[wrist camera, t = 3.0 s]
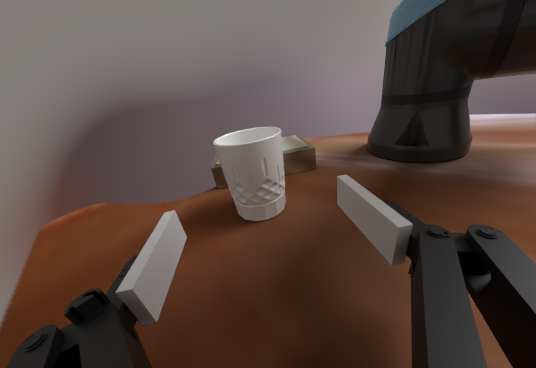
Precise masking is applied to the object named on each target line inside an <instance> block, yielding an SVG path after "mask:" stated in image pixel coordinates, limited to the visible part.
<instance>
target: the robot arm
mask: <svg viewBox="0 0 536 368" xmlns="http://www.w3.org/2000/svg"><path fill="white" fill-rule="evenodd" d="M385 46H386V58H385V69H384V80H383V90H382V101H381V108H380V111H379V113H378V116H377V118H376V120H375V123H374V125H373V128H372V130H371V133H370V134H369V136H368V143H367V150H368V151H369V152H370V153H372V154H374V155H376V156H379V157H382V158H386V159H391V160H397V161H406V162H437V161H446V160H452V159H456V158H459V157H462V156H464V155H466V154H467V153H468V151H469V148H470V145H471V142H472V134H471V132H470V119H469V110H468V98H469V94H470V91H471V87H472V84H473V81H474V80H479V79H487V78H496V77H505V76H515V75H524V74H534V73H536V0H403V1H402V2H401V3H400V4H399V5H398V6H397V7H396V9H395V10H394V12H393V13H392V16H391V19H390V25H389V31H388V38H387V41H386V44H385ZM337 205H338V206H339V207H340V208H341V209H342V210H343V212H344V213H345V214H346V215H347V216H348V217H349V218H350V219H351V221H352V222H353V223H354V224H355V225H356V226H357V227H358V228H359V230H360V231H361V232H362V233H363V234H364V235H365V236H366V237H367V239H368V240H369V241H370V242H371V243H372V244H373V245H374V246H375V248H376V249H377V250H378V251H379V252H380V253H381V254H382V255H383V257H384V258H385V259H386V260H387V261H388V262H389V263H390V264H391V266H393V265H397V264H401V263H404V262H405V258H406V255H407V256H408V257H409V258H410V259H411V260H412V261H411V265H410V269H409V273H408V274H411V323H412V368H487V366H486V362H485V358H484V355H483V351H482V347H481V343H480V339H479V335H478V331H477V328H476V324H475V320H474V316H473V312H472V308H471V304H470V301H469V297H468V293H467V291H468V292H469V294H470V296H471V297H472V299H473V301H474V303H475V304H476V306H477V308H478V309H479V311H480V313H481V314H482V316H483V318H484V319H485V321H486V323H487V325H488V326H489V328H490V330H491V331H492V333H493V335H494V336H495V338H496V340H497V342H498V343H499V345H500V347H501V348H502V350H503V352H504V353H505V355H506V357H507V358H508V360H509V362H510V364H511V365H512V367H513V368H536V264H535V263H534V262H533V261H532V260H531V259H530V258H529V257H528V256H527V255H526V254H525V253H524V252H523V251H522V250H521V249H520V248H519V247H517V246H516V245H515V244H514V243H513V242H512V241H511V240H510V239H509V238H508V237H507V236H506V235H505V234H504V233H502V232H501V231H499V230H497V229H494V228H492V227H489V226H484V225H472V226H469V227H468V229H467V232H466V233H450V232H449V231H448V230H446V229H444V228H442V227H439V226H435V225H425V224H424V223H423V222H421V221H420V220H418V219H417V218H415V217H414V216H413V215H411V214H410V213H408V212H406V211H405V210H404V209H403V208H401V207H400V206H398V205H397V204H395V203H394V202H391V201H388V200H382V201H381V200H380V199H379V198H377V197H376V196H375V195H373V194H372V193H371V192H369V191H368V190H367V189H365V188H364V187H363V186H361V185H360V184H359V183H357V182H356V181H355V180H353V179H352V178H351V177H349V176H348V175H347V174H345V175H341V176H337ZM186 239H187V236H186V234H185V232H184V230H183V227H182V225H181V223H180V221H179V219H178V216H177V214H176V212H175V210H174V211H169V212H165V213H164V214H163V216H162V218H161V219H160V221H159V223H158V224H157V226H156V227H155V229H154V231H153V232H152V234H151V236H150V237H149V239H148V240H147V242H146V244H145V245H144V247H143V249H142V250H141V252H140V253H139V255H135V256H133V257H132V258H131V259H130V260H129V261H128V262H127V263H126V265H125V266H124V268H123V269H122V272H120V274H119V275H118V278H116V280H115V281H114V283H113V284H112V286H111V287H110V289H109V290H108V292H107V294H106V295H105V294H104V293H103V292H102V291H101V290H100V289H92V290H89V291H87V292H85V293H83V294H82V295H80V296H79V297H77V298H76V299H75V300H74V301H73V302H72V303H71V304H70V305H69V306H68V308H67V309H66V311H65V316H66V317H67V318H68V319H69V320H70V321H72V322H73V324H71V325H68V326H66V327H64V328H62V329H58V328H57V327H56V326H55V325H48V326H46V327H43V328H41V329H39V330H38V331H36V332H35V333H33V334H32V335H30V336H29V337H28V338H27V339H26V340H24V342H23V343H22V344H21V345H20V346H19V347H18V348H17V350H16V351H15V353H14V354H13V356H12V358H11V361H10V363H9V365H8V367H7V368H152V367H151V365H150V362H149V360H148V358H147V355H146V353H145V350H144V348H143V346H142V343H141V341H140V339H139V336H138V334H137V332H136V330H135V329H134V328H133V327H134V325H135V323H136V321H137V320H138V321H139V323H140V324H141V325H142V326H144V325H148V324H152V323H156V322H157V321H158V318H159V315H160V312H161V310H162V307H163V304H164V301H165V298H166V295H167V293H168V290H169V287H170V284H171V281H172V279H173V276H174V273H175V270H176V267H177V264H178V262H179V259H180V256H181V253H182V250H183V247H184V245H185V242H186Z"/></svg>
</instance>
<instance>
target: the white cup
mask: <svg viewBox="0 0 536 368" xmlns="http://www.w3.org/2000/svg"><path fill="white" fill-rule="evenodd" d="M213 144H214V147H215V150H216V153H217V156H218V159H219V162H220V165H221V168H222V171H223V174H224V177H225V180H226V182H227V185H228V188H229V190H230V193H231V196H232V197H233V199H234V202H235V205H236V208H237V211H238V214H239V215H240V216H241V217H242V218H244V219H245V220H250V221H263V220H268V219H270V218H273V217H275V216H277V215H278V214H280V213H281V212H282V211H283V210H284V208H285V204H286V196H285V178H284V160H283V149H282V136H281V129H279V128H277V127H259V128H251V129H245V130H240V131H236V132H233V133H229V134H226V135H223V136H221V137H219V138H217V139H216V140H214V142H213Z"/></svg>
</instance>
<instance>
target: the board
mask: <svg viewBox="0 0 536 368" xmlns="http://www.w3.org/2000/svg"><path fill="white" fill-rule="evenodd" d="M282 149H283V160H284V175H289V174H294V173H299V172H304V171H308V170H313V169H316V157H315V147H313V146H312V145H311V144H309V143H308V142H306V141H305V140H304V139H302V138H301V137H299V136H298V135H293V136H287V137H282ZM211 169H212V172H213V176H214V178H215V182H216V185H217V188H218V189H221V188H226V187H228V185H227V182H226V180H225V177H224V174H223V171H222V168H221V165H220V162H219V159H218V156H217V154H216V157H215V159H214V162H213V165H212V168H211Z"/></svg>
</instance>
